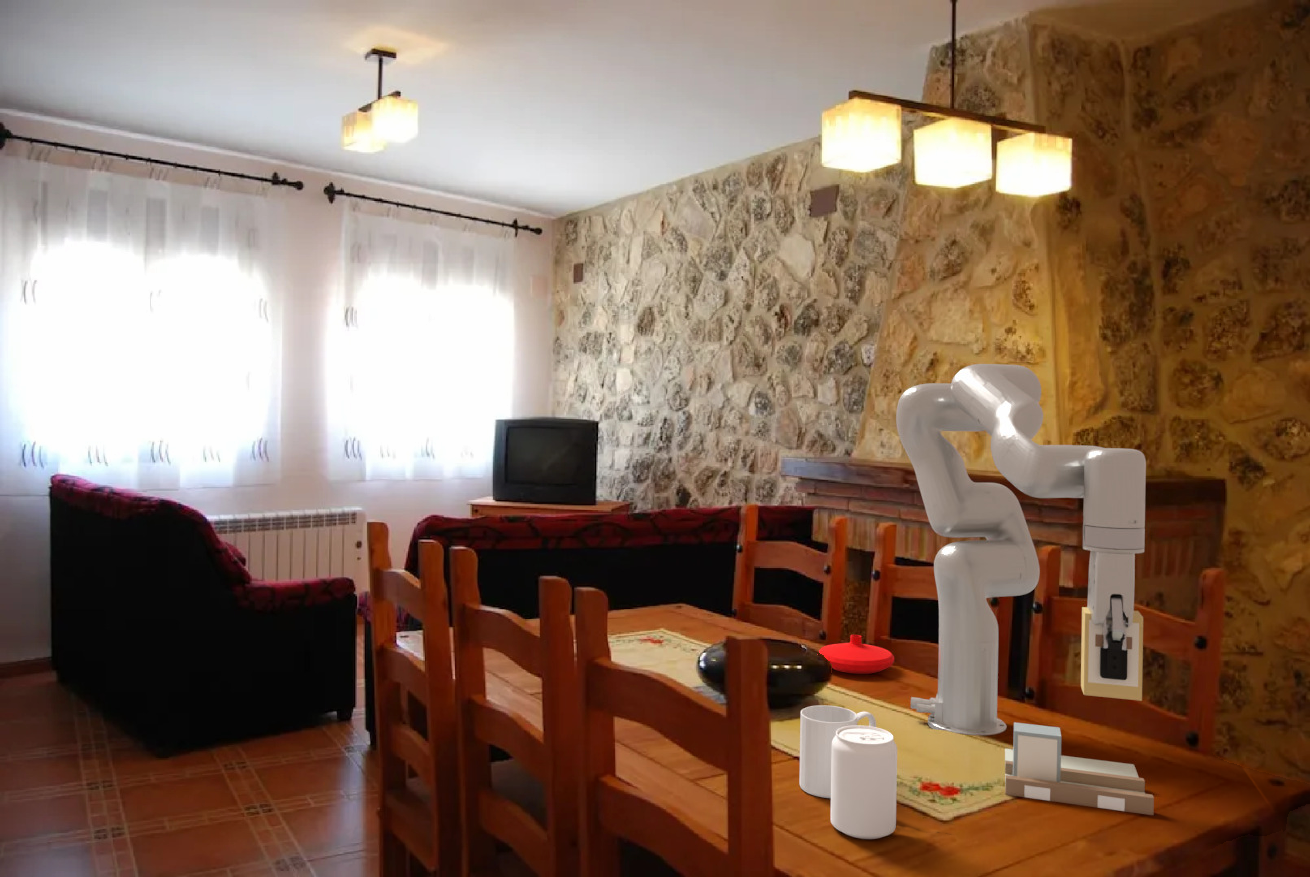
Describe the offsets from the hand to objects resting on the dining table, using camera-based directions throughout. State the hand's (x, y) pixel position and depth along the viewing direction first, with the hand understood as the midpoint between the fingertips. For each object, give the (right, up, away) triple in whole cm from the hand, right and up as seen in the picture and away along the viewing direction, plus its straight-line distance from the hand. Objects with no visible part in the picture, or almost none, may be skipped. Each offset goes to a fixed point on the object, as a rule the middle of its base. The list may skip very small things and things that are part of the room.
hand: (1110, 671), depth 127 cm
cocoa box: (-9, -17, +4) cm, 19 cm away
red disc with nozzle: (-20, -17, +68) cm, 73 cm away
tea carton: (0, -3, 0) cm, 3 cm away
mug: (-36, -18, +6) cm, 40 cm away
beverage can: (-35, -18, -8) cm, 41 cm away
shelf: (-2, -18, +7) cm, 19 cm away
